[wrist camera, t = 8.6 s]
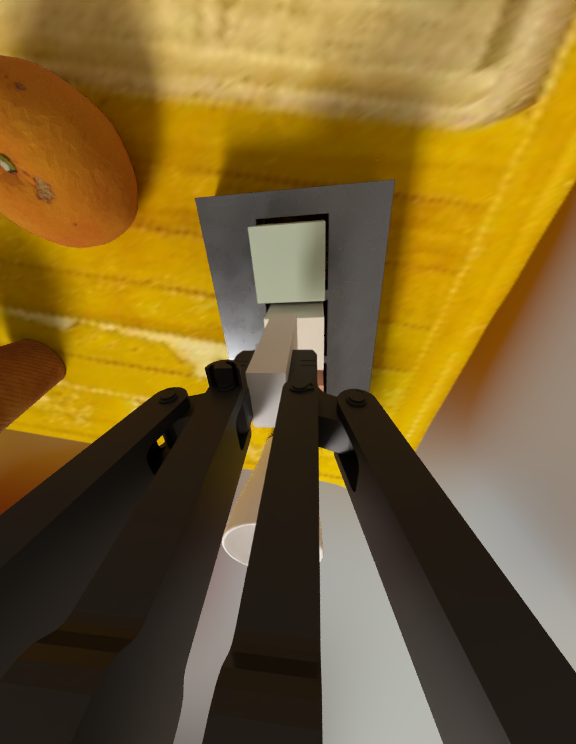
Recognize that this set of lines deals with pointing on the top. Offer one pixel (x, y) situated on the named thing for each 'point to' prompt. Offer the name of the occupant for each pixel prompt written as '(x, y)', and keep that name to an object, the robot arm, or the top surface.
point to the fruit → (60, 160)
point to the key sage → (289, 261)
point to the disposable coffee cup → (26, 377)
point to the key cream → (305, 325)
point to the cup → (249, 513)
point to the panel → (343, 272)
